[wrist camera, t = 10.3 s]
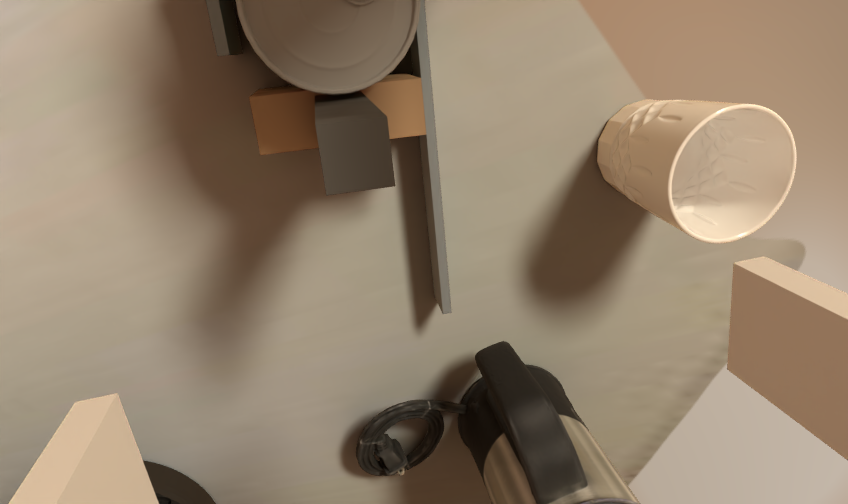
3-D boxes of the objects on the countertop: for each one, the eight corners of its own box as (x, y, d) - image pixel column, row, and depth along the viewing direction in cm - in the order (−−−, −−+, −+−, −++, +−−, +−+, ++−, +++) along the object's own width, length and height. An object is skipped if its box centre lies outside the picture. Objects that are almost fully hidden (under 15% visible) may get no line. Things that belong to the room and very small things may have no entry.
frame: (281, 321, 41) (276, 364, 35) (196, -98, 32) (172, -128, 26) (446, 294, 43) (466, 332, 37) (410, -112, 34) (429, -143, 28)
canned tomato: (305, 105, 37) (302, 128, 26) (229, -15, 34) (192, -42, 23) (413, 39, 36) (452, 37, 26) (346, -87, 33) (360, -146, 23)
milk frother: (585, 412, 49) (692, 556, 35) (441, 523, 50) (489, 705, 36) (489, 299, 43) (570, 416, 30) (330, 426, 45) (337, 595, 31)
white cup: (591, 93, 40) (677, 107, 30) (696, 88, 41) (809, 100, 32) (584, 204, 42) (660, 249, 33) (683, 196, 43) (783, 237, 34)
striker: (268, 138, 36) (230, 217, 20) (259, 89, 35) (210, 127, 18) (409, 121, 37) (486, 181, 21) (404, 73, 36) (481, 96, 20)
